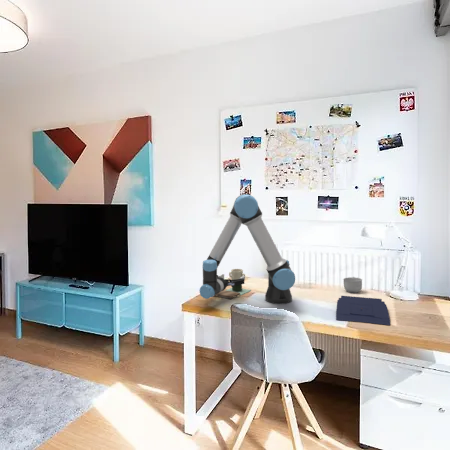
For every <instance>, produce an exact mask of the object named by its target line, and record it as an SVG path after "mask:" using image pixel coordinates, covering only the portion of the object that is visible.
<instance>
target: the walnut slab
mask: <svg viewBox="0 0 450 450" xmlns="http://www.w3.org/2000/svg"><path fill="white" fill-rule="evenodd" d="M226 290H227V289H225V290H223V291H221V292H219V293H218V294H216V295H214V296H213V297H219V298H225V299H229V300H233V298H235V297H237V298H238V296H241V295H240V293H237V292H232V291H226Z"/></svg>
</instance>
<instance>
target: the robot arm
mask: <svg viewBox="0 0 450 450" xmlns="http://www.w3.org/2000/svg"><path fill="white" fill-rule="evenodd" d="M229 215H230V216H229V218H228V219H227V222H226V223H225V225H224V227H223V229H222V231H221V233H220V234H219V237H217V240H216V242H215V244H214V245H213V248H212V249H211V250H210V253H209V255H208V256H207V258H206V260H203V261H202V285H201V286H200V288H199V295H200V296H201V297H202V298H203V299H205V300H207V299H210V298H213V297H215V296H214V295H216V294H218V293H219V292H221V291H223V290H227V287H230V286H231V287H230V288H232V287H233V286H236V285H244V284H245V280H246V275H245V276H244V275H243V277H241V278H239V279H235V280H232V279H231V278H228V279H227V278H226V279H225V274H224V273H222V274H220V275H218V268H219V266H220V264H221V262H222V260H223V259H224V257H225V255H226V253H227V251H228V249H229V247H230V245H231V244H232V242H233V240H234V239H235V236H236V234H238V231H239V229H240V227H241V226H242V225H245V226H246V227H247V229H248V231H249V233H250V235H251V237H252V239H253V241H254V243H255V245H256V246H257V248H258V250H259V252H260V254H261V256H262V258H263V260H264V262H265V263H266V269H265V270H266V271H267V274H268V276H267V277H268V279H267V280H268V282H267V289H266V292H265V295H264V300H265V301H266V302H268V303H271V304H279V305H280V304H281V305H282V304H283V305H284V304H289V303H291V302H292V301H293V295H292V293H291V289H292V287H294V285H295V283H296V275H295V273H294V272H293V270H292V268H291V266H290V265H291V264H290V261H289V260H288V259H285V258H283V257H282V256H281V254H280V252H279V250H278V247H277V246H276V244H275V242H274V240H273V239H272V236H271V234H270V232H269V230H268V229H267V226H266V225H265V223H264V220H263V218H262V217H263V211H261V208H260V206H259V203H258V200H257V199H256V198H255V196H252V195H251V194H241V195H238V196H237V197H236V198H235V200H234V203H233V206H232V208H231V211H230V212H229Z"/></svg>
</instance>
